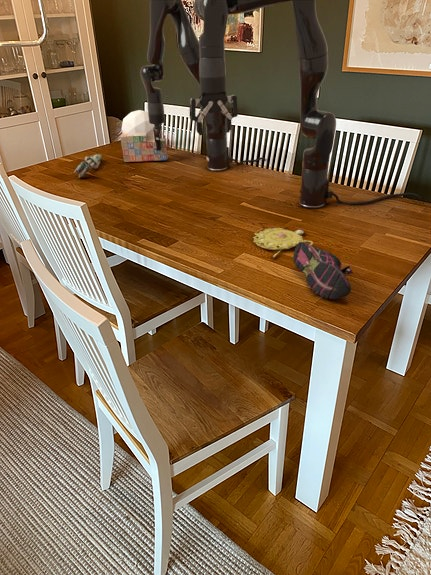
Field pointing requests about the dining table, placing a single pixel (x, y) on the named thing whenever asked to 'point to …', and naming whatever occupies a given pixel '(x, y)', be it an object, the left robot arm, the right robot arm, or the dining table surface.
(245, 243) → the dining table surface
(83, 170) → the figurine
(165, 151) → the stack of blocks
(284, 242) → the decorative object
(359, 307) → the dining table surface
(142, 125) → the sphere
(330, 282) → the athletic shoe
